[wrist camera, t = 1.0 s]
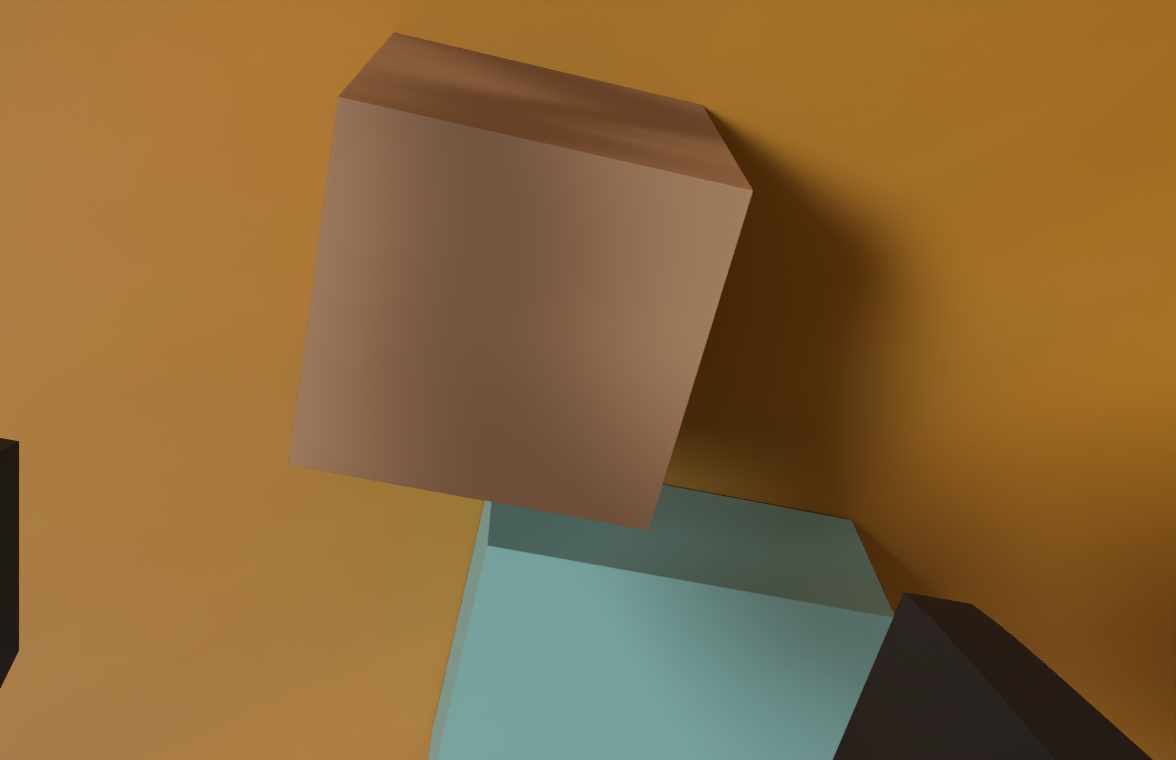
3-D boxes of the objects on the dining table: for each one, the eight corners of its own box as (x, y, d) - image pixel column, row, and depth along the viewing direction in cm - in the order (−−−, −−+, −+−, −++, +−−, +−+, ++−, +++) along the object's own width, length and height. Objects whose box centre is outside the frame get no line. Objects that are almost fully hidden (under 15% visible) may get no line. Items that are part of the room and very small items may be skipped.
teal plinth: (851, 520, 21) (895, 618, 18) (746, 782, 24) (771, 899, 21) (495, 452, 20) (487, 545, 18) (431, 733, 23) (415, 849, 20)
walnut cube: (702, 104, 18) (753, 190, 13) (626, 376, 20) (648, 530, 15) (394, 31, 17) (338, 96, 13) (350, 320, 19) (288, 464, 15)
